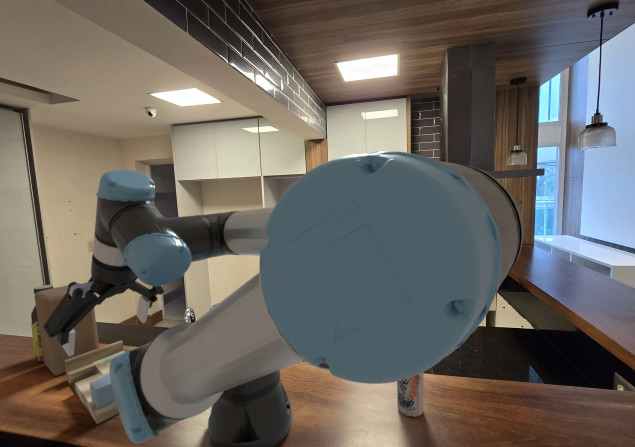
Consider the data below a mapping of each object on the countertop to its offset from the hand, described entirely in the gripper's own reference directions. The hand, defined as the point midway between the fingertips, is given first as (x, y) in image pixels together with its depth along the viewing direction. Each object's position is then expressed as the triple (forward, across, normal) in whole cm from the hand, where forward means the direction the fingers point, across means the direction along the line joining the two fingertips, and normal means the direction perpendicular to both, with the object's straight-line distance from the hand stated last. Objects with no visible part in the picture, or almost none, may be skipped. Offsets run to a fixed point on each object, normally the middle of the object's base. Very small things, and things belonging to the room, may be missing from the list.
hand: (107, 333), depth 63 cm
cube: (+10, +3, +8) cm, 13 cm away
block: (+28, -1, -15) cm, 32 cm away
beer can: (-14, -27, +55) cm, 63 cm away
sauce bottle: (+33, +1, -23) cm, 40 cm away
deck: (+16, -1, +3) cm, 17 cm away
